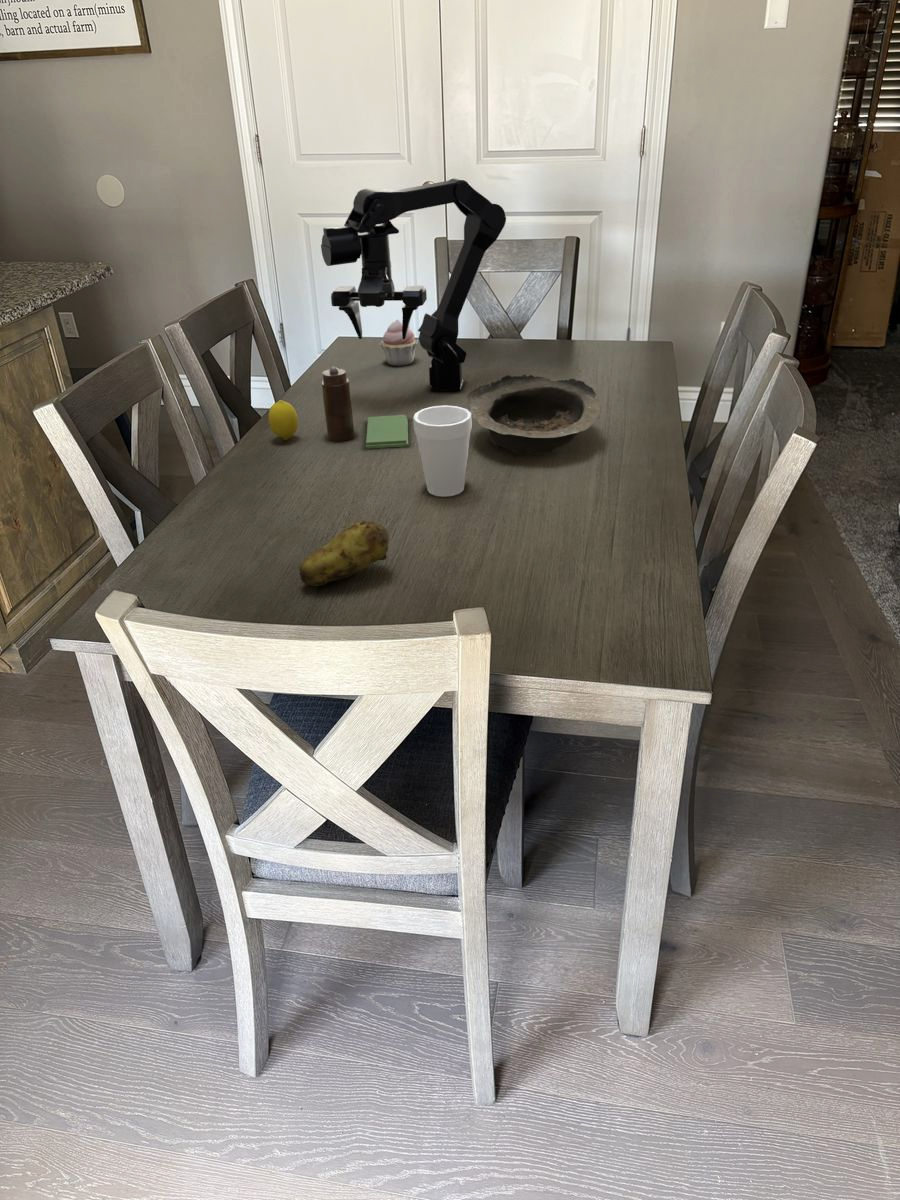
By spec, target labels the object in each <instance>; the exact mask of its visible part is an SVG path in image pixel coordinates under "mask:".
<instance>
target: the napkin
mask: <svg viewBox="0 0 900 1200" xmlns="http://www.w3.org/2000/svg"><path fill="white" fill-rule="evenodd" d="M408 421H409V420H408V417H407V415H406V414H397V415H396V414H395V415H382V416H381V415H380V416H368V417H367V428H366V439H365V449H367V450H368V449H369V450H371V449H386V448H387V449H388V448H402V447H409V427H408V426H409V424H408Z"/></svg>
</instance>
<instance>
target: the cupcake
mask: <svg viewBox="0 0 900 1200" xmlns="http://www.w3.org/2000/svg"><path fill="white" fill-rule="evenodd" d="M382 339H383V340H381V341H380V343H379V346H380V348H381V350H382V351H383V353H384V356H385V360H386V362H387V364H388V365H390V366H395V367H396V366H397V367H399V366H400V367H401V366H407V365H411V364H412V363H413V362H414V360H415V352H416V349H417V345H418V343H419V342H420V341H419V339H416V337H415V333H414V332H413V330H412V328H411V327H410V326H408V330H407V334H406V338H405V339H403V337H402V321H400V320H399V319H396V320H395V321H392V323H390V324H389V325H388V327H387V329H386V331H385V332H384V334H383V337H382Z"/></svg>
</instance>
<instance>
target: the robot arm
mask: <svg viewBox="0 0 900 1200" xmlns="http://www.w3.org/2000/svg"><path fill="white" fill-rule="evenodd" d="M352 203H353V204H352V205H353V207H352V209H351V211H350V213H349V214H348V216H347V219H346V221H345V222H344V225H343V226H337V227H330V226H328V227H323V228H322V231H323V234H322V238H321V244H320V250H321V251H320V252H321V256H322V259H323V262H324V264H325V265H326V266H327V267H331V266H340V265H347V264H354V263H356V262H358V259H361V267H362V268H361V277H360V282H359V284H358V288H357V289H356V286H355V285H339V286H337V287H336V288H335V289H334V290H333V291H332V292H331V294H330V302H331V307H338V311H343V312H344V313H345V314H346V315H347V317H348V319H349V321H350V322H351V324H352V326H353V328H354V331H355V332H356V335H357V337H358V340H362V339H363V327H362V319H361V311H360V307H362V308H367V307H376V308H381V307H383V306H384V305H385V301H387V302H388V301H390V302H391V301H392V302H393V301H395V302H396V301H397V302H399V301H402V303H403V304H404V305H403V306H402V307H401V312H402V321H401V323H402V337H403V339H405V338H406V334H407V330H408V327H410V322H411V318H412V315H413V314H414V311H416V310H418V308H419V307H421V306H423V305H424V304H425V302H427V298H428V295H427V288H426V287H425V286H424V285H406V286H405V287H404V288H403V290H396V288H395V284H394V280H393V274H392V261H391V248H390V247H391V246H390V245H391V244H390V235H395V234H399V233H400V229H398V228H397V227H396V226H395V225H394V224H393V223H392V220H395V219H396V218H398V217H400V216H401V215H403V214H405V213H407V212H412V211H417V210H423V209H427V208H433V207H438V206H444V205H448V204H449V205H450V204H454V205H455V207H456V208H457V209H458V211H460V213H462V214H463V215H464V216H465V221H464V224H463V243H462V246H461V249H460V252H459V254H458V257H457V259H456V261H455V264H454V267H453V268H452V272H451V274H450V277H449V279H448V282H447V284H446V287H445V289H444V293H443V295H442V297H441V299H440V302H439V304H438V307H437V308H436V310H435V311H434V312H433V313H432V314H429V313H428V312H426V313H424V315H423V318H422V323H421V325H420V327H419V328H418V329H417V332H419V335H418V340H419V341H418V342H419V344H420V347H421V348H422V349H423V350H425V351H426V353H427V355H428V357H429V358H432V359H431V361H430V366H429V368H428V374H429V375H428V376H429V377H428V378H429V386H430V392H461V390H462V388H463V385H464V379H463V368H462V367H463V366H462V364H463V363H465V360H466V357H467V351H465V350H464V349H463V348H462V347H461V346H460V345H459V344H457V341H458V337H459V319H460V315H461V313H462V310H463V308H464V306H465V303H466V300H467V298H468V296H469V292H470V290H471V287H472V285H473V282H474V281H475V278H476V275H477V273H478V271H479V268H480V265H481V263H482V260H483V258H484V255H485V253H486V251H487V250H489V248H490V247H491V246H492V245H493V244H494V243H495V242H496V241H497V239H498V238H499V236H500V235H501V233H502V232H503V229H504V228H505V226H506V224H507V223H506V222H507V215H506V213H505V210H504V208H503V207H502V206H501V205H500V204H498V203H494V202H491V201H490V200H489V199H488V198H486V197H485V196H484V195H483V194H481V193H480V192H478V191H477V190H476V189H475V188H473V187H472V186H471V185H470V184H469V183H468V181H466V180H464V179H459V178H450V179H449V180H445V181H439V182H433V183H428V184H423V185H418V186H413V187H407V188H402V189H385V188H363V189H360V190H359V191H358V192H356V195H355V197H354V198H353V202H352Z"/></svg>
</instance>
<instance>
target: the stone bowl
mask: <svg viewBox="0 0 900 1200" xmlns="http://www.w3.org/2000/svg"><path fill="white" fill-rule="evenodd" d="M596 396H597V394H596V392H595V389H594V388H593V387H591V386H589V385H588V384H586V383H585V382H584V381H582V380H577V379H576V378H570V379H564V380H563V379H561V380H556V381H554V380H551V378H548V377H543V376H534V375H532V374H530V375H526V374H522V375H519V376H517V375H515V376H511V375H509V374H507V375H506V376H503V377H501V378H500V379H499V380H497V381H492V382H490V384H489V383H487V384H483V385H479V386H478V387H475V388H474V389H471V390H470V391H469V393H468V394H467V395H466V396H465V398H466V399H467V406H468V408H469V409H467V410H468V411H469V412H470V413H471V418H473V419H475V420H476V421H477V422H478V424H479V426H481V427H483V428H485V429H488V435H489V438H490V440H491V441H492V443H493V444H494V445H495V446H497V447H499V448H500V447H502V448H505V449H507V450H510V451H512V452H514V453H516V454H519V455H525V454H526V455H527V454H529V453H530V454H546V453H551V452H553V451H554V450H556V449H559V448H560V447H563V446H565V445H567V444H569V443H570V442H572V441H573V440H574V439H575V438H576V436H577V435H578V434H579V433H580V432H584V431H586V430H588V429H589V428H590V427H591V426H592V425H593V423H594V422H595V421H597V420H599V419H600V418H601V416H602V415H601V414H602V406H601V404H600V402H599V400H598V398H596Z"/></svg>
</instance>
